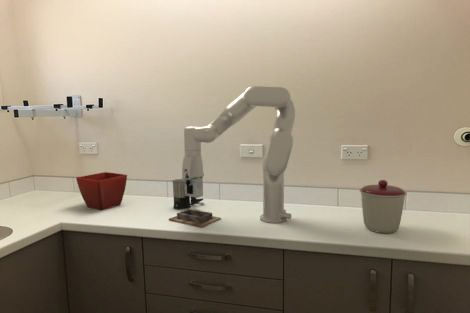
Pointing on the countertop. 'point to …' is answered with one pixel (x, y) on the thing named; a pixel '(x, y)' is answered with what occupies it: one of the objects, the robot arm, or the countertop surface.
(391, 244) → the countertop surface
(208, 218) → the holder
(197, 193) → the medicine box
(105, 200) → the plant pot
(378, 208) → the canister
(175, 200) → the milk frother
